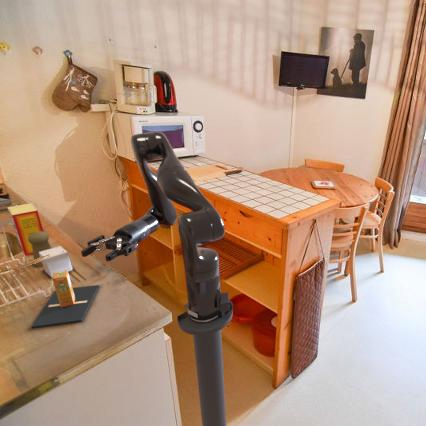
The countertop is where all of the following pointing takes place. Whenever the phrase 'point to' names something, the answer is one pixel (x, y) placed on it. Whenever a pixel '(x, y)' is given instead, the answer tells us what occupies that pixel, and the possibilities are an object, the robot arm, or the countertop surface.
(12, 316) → the countertop surface
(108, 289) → the countertop surface
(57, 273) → the supplement box
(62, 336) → the countertop surface
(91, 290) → the slate mat
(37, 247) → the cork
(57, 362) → the countertop surface
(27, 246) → the baking soda box
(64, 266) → the product carton
